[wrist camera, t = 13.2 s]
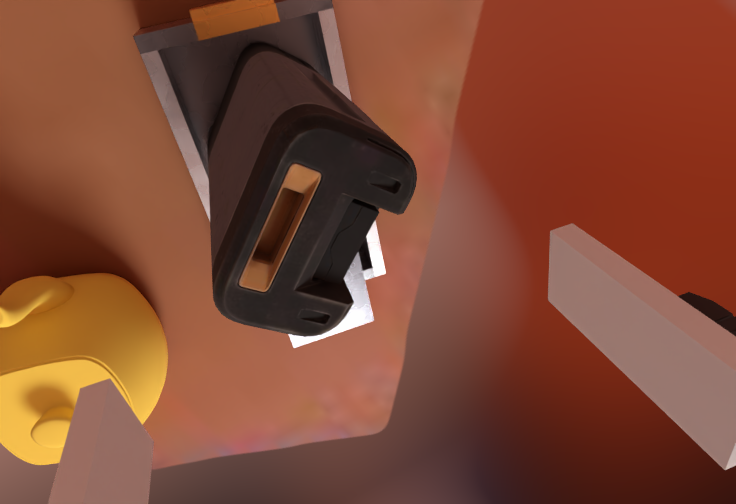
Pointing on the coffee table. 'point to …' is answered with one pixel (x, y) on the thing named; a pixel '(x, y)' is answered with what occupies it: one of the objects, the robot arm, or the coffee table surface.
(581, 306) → the robot arm
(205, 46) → the rack
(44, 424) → the teapot
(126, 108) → the coffee table surface
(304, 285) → the electronic device
